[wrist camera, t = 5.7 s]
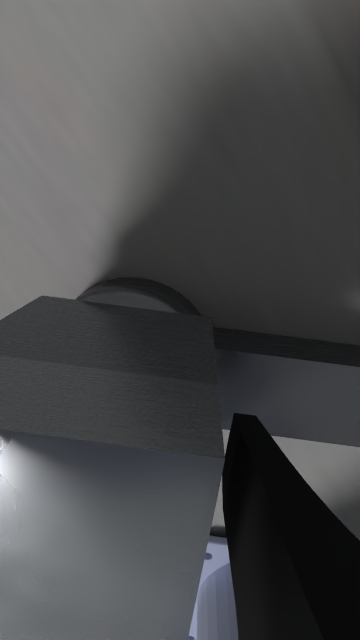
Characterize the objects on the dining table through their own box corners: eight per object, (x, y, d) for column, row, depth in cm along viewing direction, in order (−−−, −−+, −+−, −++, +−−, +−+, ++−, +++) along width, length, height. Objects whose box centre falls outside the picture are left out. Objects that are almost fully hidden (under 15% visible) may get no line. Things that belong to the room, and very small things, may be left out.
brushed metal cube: (189, 453, 12) (181, 673, 6) (46, 434, 12) (-87, 634, 7) (211, 317, 10) (224, 459, 5) (41, 295, 10) (-150, 408, 5)
